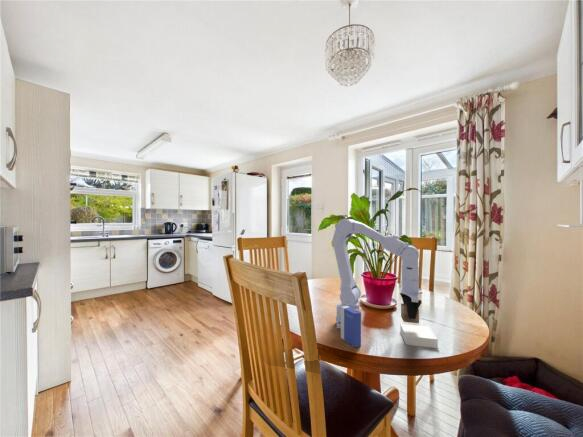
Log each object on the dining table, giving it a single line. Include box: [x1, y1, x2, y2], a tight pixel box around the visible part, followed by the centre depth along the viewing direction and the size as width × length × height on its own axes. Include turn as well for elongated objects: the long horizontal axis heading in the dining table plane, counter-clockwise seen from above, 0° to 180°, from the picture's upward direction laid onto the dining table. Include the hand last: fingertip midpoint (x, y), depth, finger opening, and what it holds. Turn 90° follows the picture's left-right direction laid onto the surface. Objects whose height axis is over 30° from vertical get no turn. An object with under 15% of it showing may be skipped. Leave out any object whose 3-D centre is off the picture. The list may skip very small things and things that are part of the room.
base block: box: [399, 323, 439, 349], centre depth 90 cm, size 10×10×3 cm
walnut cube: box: [400, 303, 420, 324], centre depth 90 cm, size 5×5×5 cm
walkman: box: [340, 306, 362, 348], centre depth 88 cm, size 8×3×12 cm, turn 26°
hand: (410, 315), depth 90 cm, fingers closed on walnut cube, 5 cm apart
